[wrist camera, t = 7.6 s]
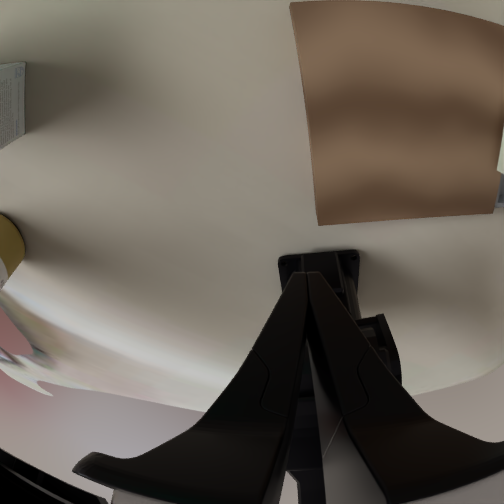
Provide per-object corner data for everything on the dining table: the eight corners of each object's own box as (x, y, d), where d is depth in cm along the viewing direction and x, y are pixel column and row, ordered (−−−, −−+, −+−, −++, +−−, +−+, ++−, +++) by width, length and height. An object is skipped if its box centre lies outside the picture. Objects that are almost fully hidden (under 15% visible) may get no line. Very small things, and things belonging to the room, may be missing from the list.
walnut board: (480, 199, 19) (492, 213, 18) (315, 210, 22) (318, 225, 20) (491, 25, 11) (508, 27, 9) (289, 6, 13) (290, 2, 11)
